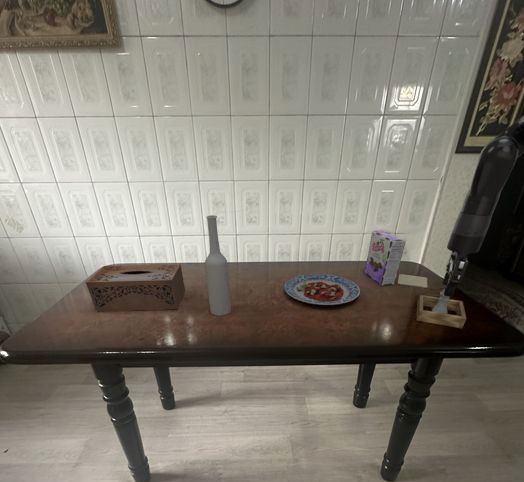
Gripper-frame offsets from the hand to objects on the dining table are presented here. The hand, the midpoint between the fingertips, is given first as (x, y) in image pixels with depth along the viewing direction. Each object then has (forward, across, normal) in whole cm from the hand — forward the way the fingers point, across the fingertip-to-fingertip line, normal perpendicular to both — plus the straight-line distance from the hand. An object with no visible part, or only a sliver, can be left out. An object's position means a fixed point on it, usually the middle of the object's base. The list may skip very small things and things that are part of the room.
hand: (446, 290), depth 87 cm
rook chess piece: (+8, 0, 0) cm, 8 cm away
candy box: (+9, +24, +20) cm, 32 cm away
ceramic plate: (+9, +2, +37) cm, 38 cm away
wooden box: (+8, 0, 0) cm, 8 cm away
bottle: (+9, -23, +63) cm, 67 cm away
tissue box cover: (+9, -27, +91) cm, 95 cm away
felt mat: (+8, +26, +8) cm, 28 cm away
